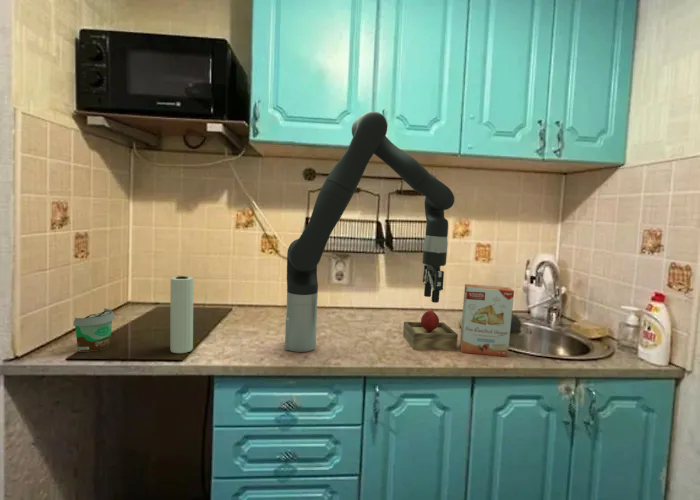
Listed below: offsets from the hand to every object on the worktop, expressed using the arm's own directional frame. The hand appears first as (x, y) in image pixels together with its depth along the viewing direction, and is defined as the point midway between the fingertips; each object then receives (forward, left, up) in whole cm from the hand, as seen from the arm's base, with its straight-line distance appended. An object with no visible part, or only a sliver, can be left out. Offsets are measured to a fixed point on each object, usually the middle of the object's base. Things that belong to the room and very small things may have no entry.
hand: (431, 299), depth 141 cm
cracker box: (+15, -9, -15) cm, 23 cm away
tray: (0, 0, -15) cm, 15 cm away
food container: (-99, -8, -15) cm, 100 cm away
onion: (0, 0, -11) cm, 11 cm away
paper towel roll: (-76, -9, -15) cm, 78 cm away
